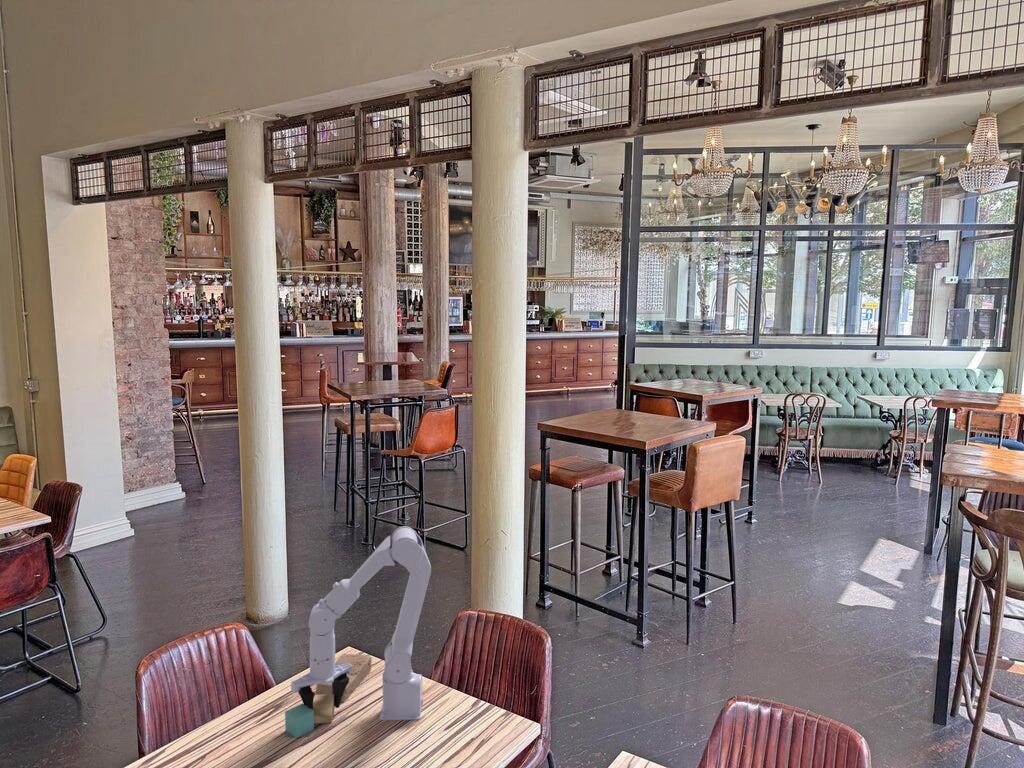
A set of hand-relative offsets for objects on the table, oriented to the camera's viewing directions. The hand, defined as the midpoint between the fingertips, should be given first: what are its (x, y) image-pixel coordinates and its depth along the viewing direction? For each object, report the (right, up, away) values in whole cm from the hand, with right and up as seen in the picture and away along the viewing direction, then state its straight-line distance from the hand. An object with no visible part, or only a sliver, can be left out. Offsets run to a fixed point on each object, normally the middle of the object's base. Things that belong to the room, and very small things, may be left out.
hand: (322, 711), depth 163 cm
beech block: (0, -2, 0) cm, 2 cm away
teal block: (-4, -2, -5) cm, 7 cm away
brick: (+1, -1, +16) cm, 16 cm away
